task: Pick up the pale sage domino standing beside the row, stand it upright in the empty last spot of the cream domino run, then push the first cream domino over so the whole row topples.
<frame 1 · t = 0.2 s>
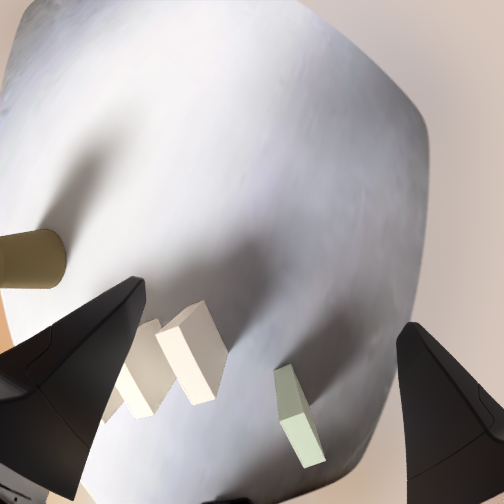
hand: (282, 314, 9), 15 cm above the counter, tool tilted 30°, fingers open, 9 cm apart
cork: (46, 258, 24), on the counter
domino 3: (162, 346, 24), on the counter
domino 4: (207, 330, 24), on the counter
domino 2: (123, 359, 24), on the counter
sage domino: (292, 389, 24), on the counter
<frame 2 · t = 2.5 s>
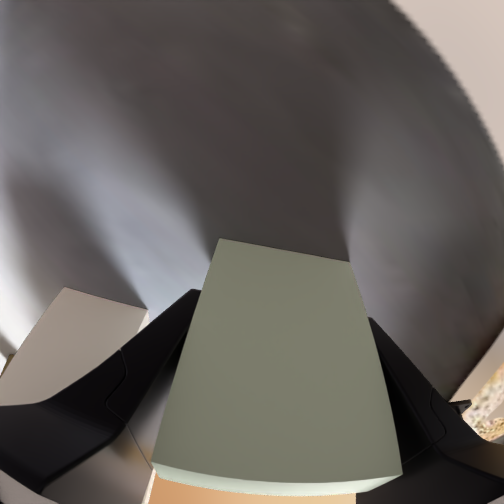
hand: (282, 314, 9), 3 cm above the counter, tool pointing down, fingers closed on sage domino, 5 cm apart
domino 4: (105, 309, 13), on the counter
sage domino: (282, 268, 11), on the counter, touching gripper
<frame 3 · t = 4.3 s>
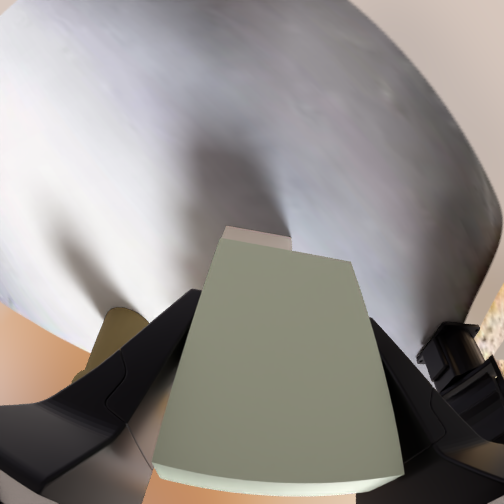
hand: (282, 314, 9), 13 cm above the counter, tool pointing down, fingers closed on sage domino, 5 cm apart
cork: (130, 326, 30), on the counter
domino 4: (257, 240, 23), on the counter
sage domino: (282, 267, 11), point 10 cm above the counter, touching gripper
when the fingers open (3 cm above the counter, at t = 6.5 s): sage domino stays where it is, on the counter.
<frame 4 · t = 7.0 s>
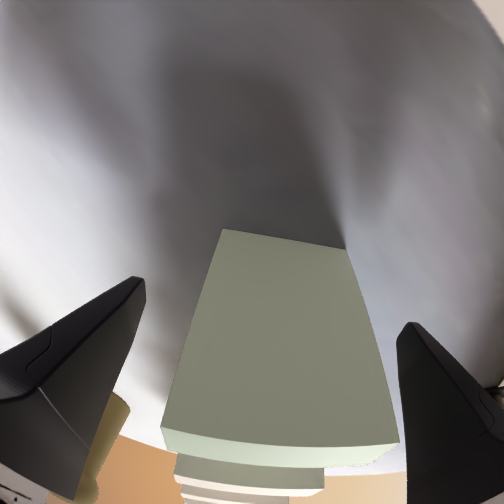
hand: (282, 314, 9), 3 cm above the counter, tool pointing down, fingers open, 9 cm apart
cork: (100, 396, 21), on the counter
domino 3: (247, 379, 17), on the counter
domino 4: (260, 331, 14), on the counter
sage domino: (282, 256, 12), on the counter
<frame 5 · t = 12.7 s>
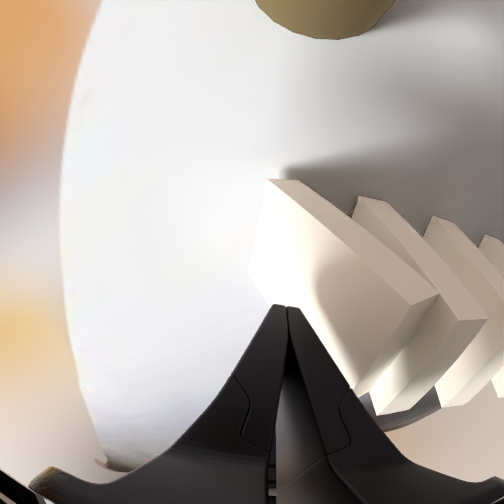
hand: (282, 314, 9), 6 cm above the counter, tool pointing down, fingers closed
domino 3: (425, 258, 14), on the counter
domino 4: (475, 270, 14), on the counter
domino 2: (356, 243, 14), on the counter, tilted 8°
domino 1: (271, 229, 14), on the counter, tilted 28°
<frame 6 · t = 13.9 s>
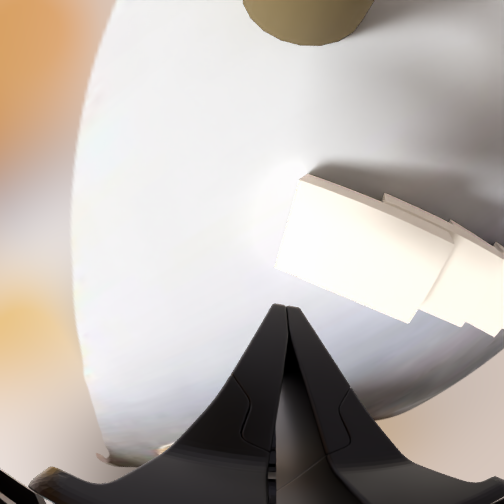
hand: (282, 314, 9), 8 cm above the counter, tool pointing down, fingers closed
domino 3: (433, 257, 15), point 1 cm above the counter, tilted 71°, touching domino 2, domino 4
domino 2: (368, 237, 15), point 1 cm above the counter, tilted 70°, touching domino 1, domino 3
domino 1: (290, 221, 15), point 1 cm above the counter, tilted 69°, touching domino 2
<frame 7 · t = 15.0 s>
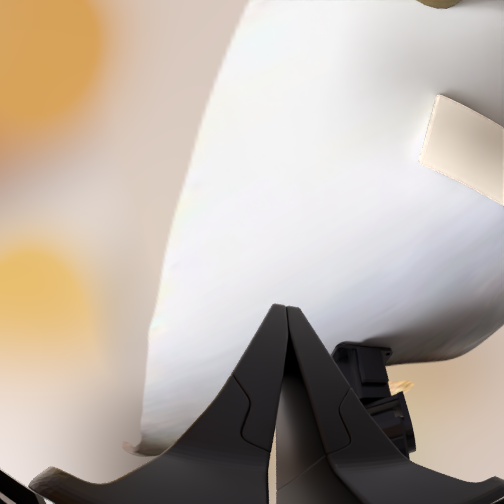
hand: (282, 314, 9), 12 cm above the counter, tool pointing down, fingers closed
domino 1: (429, 128, 15), point 1 cm above the counter, tilted 69°, touching domino 2
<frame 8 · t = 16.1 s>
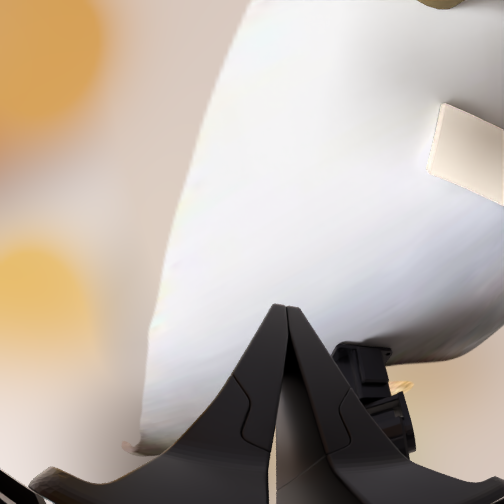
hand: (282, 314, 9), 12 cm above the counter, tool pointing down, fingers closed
domino 1: (436, 137, 15), point 1 cm above the counter, tilted 70°, touching domino 2
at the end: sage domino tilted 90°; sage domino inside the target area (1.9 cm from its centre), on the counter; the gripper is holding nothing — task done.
